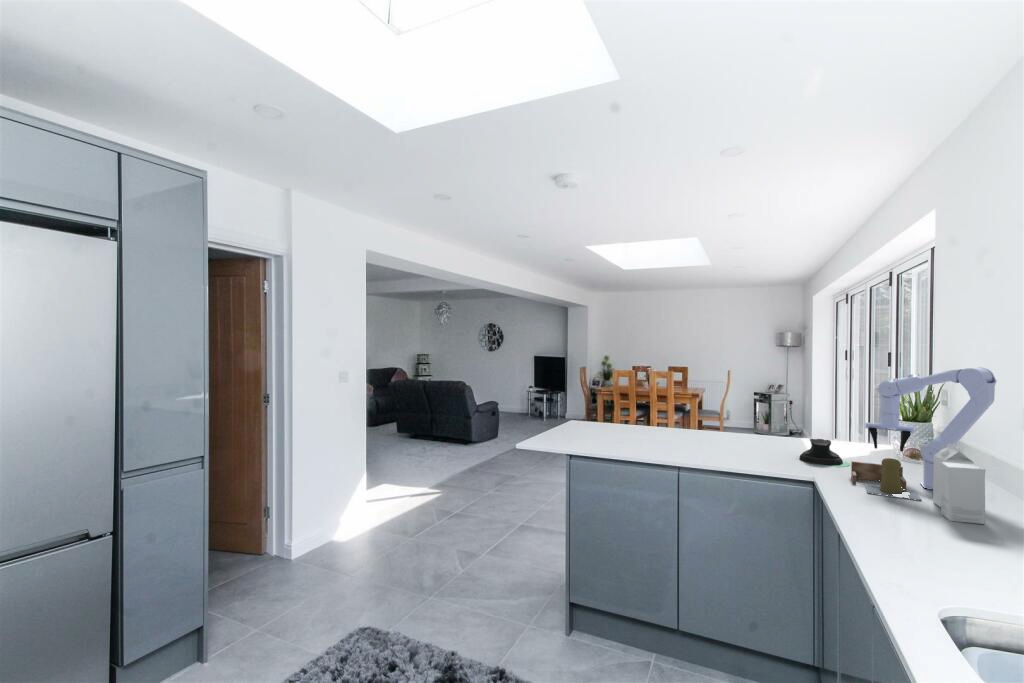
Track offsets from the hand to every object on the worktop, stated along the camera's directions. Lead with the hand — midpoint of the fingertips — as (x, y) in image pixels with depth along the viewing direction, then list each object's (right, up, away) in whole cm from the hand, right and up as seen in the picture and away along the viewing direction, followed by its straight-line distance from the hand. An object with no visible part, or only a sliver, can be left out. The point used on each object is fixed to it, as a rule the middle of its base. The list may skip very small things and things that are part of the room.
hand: (888, 449), depth 185 cm
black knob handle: (-10, -11, +25) cm, 29 cm away
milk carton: (-6, -11, -33) cm, 36 cm away
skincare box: (-12, -11, -44) cm, 47 cm away
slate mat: (-14, -10, -20) cm, 27 cm away
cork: (-14, -10, -19) cm, 26 cm away
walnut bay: (-10, -10, -9) cm, 17 cm away
